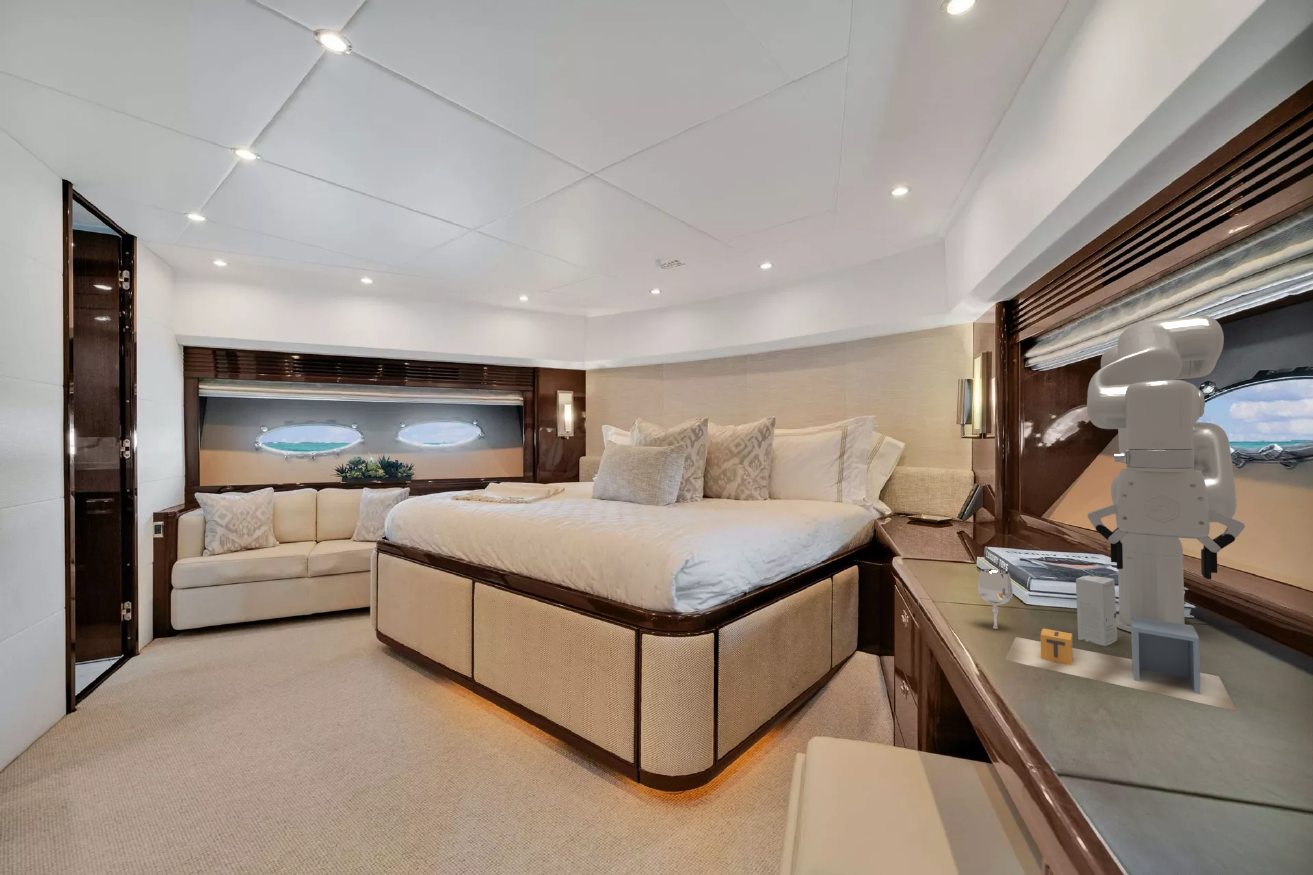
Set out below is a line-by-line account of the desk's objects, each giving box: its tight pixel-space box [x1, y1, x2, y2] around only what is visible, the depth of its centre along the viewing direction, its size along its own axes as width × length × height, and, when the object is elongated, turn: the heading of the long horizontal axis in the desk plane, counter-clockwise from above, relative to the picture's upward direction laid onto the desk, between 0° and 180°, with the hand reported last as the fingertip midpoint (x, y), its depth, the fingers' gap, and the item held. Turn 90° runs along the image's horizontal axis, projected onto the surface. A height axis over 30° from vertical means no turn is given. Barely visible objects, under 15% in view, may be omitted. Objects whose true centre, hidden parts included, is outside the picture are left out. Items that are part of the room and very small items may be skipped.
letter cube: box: [1040, 628, 1073, 665], centre depth 88 cm, size 4×4×4 cm
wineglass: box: [977, 568, 1014, 630], centre depth 103 cm, size 6×6×12 cm
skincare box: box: [1075, 575, 1118, 647], centre depth 97 cm, size 6×4×12 cm
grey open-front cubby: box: [1130, 616, 1201, 695], centre depth 80 cm, size 7×7×8 cm
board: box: [1004, 636, 1237, 712], centre depth 84 cm, size 26×14×1 cm, turn 49°
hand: (1161, 572), depth 80 cm, fingers open, 9 cm apart
